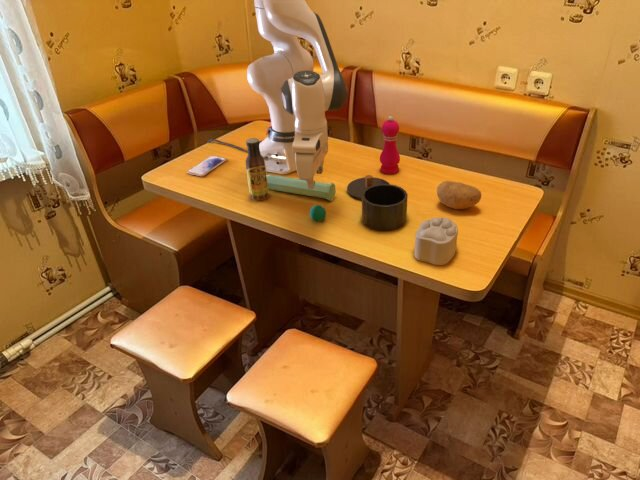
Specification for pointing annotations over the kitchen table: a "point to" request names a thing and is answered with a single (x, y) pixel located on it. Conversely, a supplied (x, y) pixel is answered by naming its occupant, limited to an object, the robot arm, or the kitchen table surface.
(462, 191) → the potato
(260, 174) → the sauce bottle
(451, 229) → the lumpy-topped squat cylinder
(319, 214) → the ball
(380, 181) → the pot lid
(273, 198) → the kitchen table surface
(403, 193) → the pot
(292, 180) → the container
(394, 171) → the pepper mill
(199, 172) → the smartphone
